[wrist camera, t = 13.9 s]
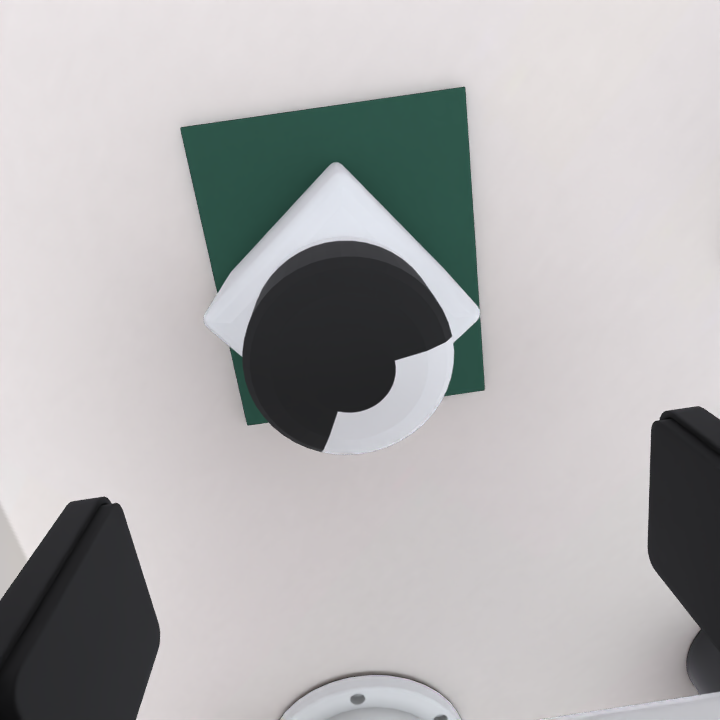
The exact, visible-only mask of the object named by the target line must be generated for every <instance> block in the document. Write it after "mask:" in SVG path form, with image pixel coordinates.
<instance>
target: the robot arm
mask: <svg viewBox="0 0 720 720" xmlns="http://www.w3.org/2000/svg"><path fill="white" fill-rule="evenodd" d="M648 554H649V558H650V561H651V564H652V566H653V568H654V569H655V571H656V572H657V573H658V575H659V576H660V577H661V579H662V580H663V581H664V582H665V584H666V585H667V586H668V587H669V589H670V590H671V591H672V592H673V594H674V595H675V596H676V598H677V599H678V600H679V601H680V603H681V604H682V605H683V606H684V608H685V609H686V610H687V611H688V613H689V614H690V615H691V617H692V618H693V619H694V620H695V622H696V623H697V624H698V625H699V627H700V628H701V629H702V630H703V632H704V633H705V634H706V636H707V637H708V638H709V639H710V641H711V642H712V643H713V644H714V646H715V647H716V648H717V649H718V651H719V652H720V419H718V418H717V417H715V416H714V415H712V414H711V413H710V412H708V411H707V410H705V409H704V408H702V407H699V406H697V407H689V408H683V409H676V410H670V411H665V412H663V413H662V415H661V417H660V420H659V421H655V422H654V423H653V425H652V429H651V455H650V487H649V520H648ZM159 644H160V628H159V624H158V620H157V617H156V614H155V611H154V608H153V604H152V601H151V598H150V595H149V592H148V588H147V585H146V582H145V579H144V576H143V573H142V569H141V566H140V563H139V560H138V557H137V554H136V550H135V547H134V544H133V541H132V538H131V535H130V531H129V528H128V525H127V522H126V519H125V515H124V512H123V510H122V507H121V506H120V505H119V504H118V503H114V504H111V502H110V500H109V499H108V498H106V497H99V498H92V499H85V500H79V501H73V502H70V503H69V504H68V505H67V506H66V507H65V509H64V510H63V512H62V513H61V514H60V516H59V517H58V519H57V520H56V522H55V523H54V524H53V526H52V527H51V529H50V530H49V532H48V533H47V534H46V536H45V537H44V539H43V540H42V542H41V543H40V544H39V546H38V547H37V549H36V550H35V552H34V553H33V554H32V556H31V557H30V559H29V560H28V562H27V563H26V564H25V566H24V567H23V569H22V570H21V572H20V573H19V575H18V576H17V578H16V579H15V580H14V582H13V583H12V584H11V586H10V588H9V589H8V590H7V592H6V593H5V595H4V596H3V597H2V599H1V600H0V720H136V717H137V714H138V711H139V708H140V705H141V702H142V699H143V695H144V692H145V689H146V686H147V683H148V680H149V677H150V674H151V670H152V667H153V664H154V661H155V658H156V655H157V652H158V648H159ZM280 720H461V718H460V716H459V714H458V712H457V711H456V710H455V708H454V707H453V705H452V704H451V703H450V702H449V701H448V700H447V699H446V698H444V697H443V696H442V695H441V694H440V693H438V692H437V691H435V690H433V689H431V688H429V687H428V686H426V685H424V684H421V683H418V682H415V681H412V680H409V679H405V678H400V677H394V676H386V675H366V676H358V677H350V678H346V679H342V680H339V681H335V682H331V683H329V684H327V685H324V686H322V687H320V688H317V689H315V690H313V691H312V692H310V693H308V694H307V695H305V696H304V697H302V698H301V699H299V700H298V701H297V702H296V703H295V704H293V705H292V706H291V707H290V708H289V709H288V710H287V711H286V712H285V713H284V715H283V716H282V718H281V719H280ZM539 720H720V692H715V693H709V694H702V695H695V696H689V697H682V698H676V699H669V700H663V701H656V702H650V703H643V704H637V705H630V706H623V707H617V708H610V709H604V710H597V711H591V712H584V713H578V714H571V715H565V716H558V717H552V718H546V719H539Z"/></svg>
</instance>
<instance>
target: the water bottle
mask: <svg viewBox="0 0 720 720" xmlns="http://www.w3.org/2000/svg"><path fill="white" fill-rule="evenodd" d="M687 672H688V675H689V678H690V680H691V682H692V683H693V685H694V686H695V688H696V690H697V691H698V693H699V694H700V695H702V694H709V693H715V692H720V652H719V651H718V649H717V648H716V647H715V646H714V644H713V643H712V642H711V641H710V639H709V638H708V637H707V636H706V634H705V633H704V632H703V630H701V631H700V632H699V634H698V635H697V636H696V638H695V639H694V641H693V643H692V645H691V647H690V650H689V653H688V657H687Z"/></svg>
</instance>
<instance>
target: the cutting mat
mask: <svg viewBox="0 0 720 720" xmlns="http://www.w3.org/2000/svg"><path fill="white" fill-rule="evenodd" d="M180 129H181V134H182V138H183V143H184V147H185V151H186V156H187V160H188V165H189V169H190V174H191V178H192V183H193V187H194V191H195V196H196V200H197V205H198V209H199V214H200V218H201V222H202V227H203V231H204V236H205V240H206V245H207V249H208V253H209V258H210V262H211V267H212V271H213V276H214V280H215V284H216V289H217V293H218V292H219V290H220V289H221V287H222V286H223V284H224V282H225V281H226V279H227V277H228V276H229V274H230V273H231V271H232V270H233V269H234V268H235V267H236V266H237V265H238V264H239V263H240V262H241V261H242V259H243V258H244V257H245V256H246V255H247V254H248V253H249V252H250V251H251V250H252V249H253V248H254V246H255V245H256V244H257V243H258V242H259V241H260V240H261V239H262V238H263V237H264V236H265V235H266V233H267V232H268V231H269V230H270V229H271V228H272V227H273V226H274V225H275V224H276V223H277V222H278V220H279V219H280V218H281V217H282V216H283V215H284V214H285V213H286V212H287V211H288V210H289V209H290V207H291V206H292V205H293V204H294V203H295V202H296V201H297V200H298V199H299V198H300V197H301V195H302V194H303V193H304V192H305V191H306V190H307V189H308V188H309V187H310V186H311V185H312V184H313V182H314V181H315V180H316V179H317V178H318V177H319V176H320V175H321V174H322V173H323V172H324V171H325V169H326V168H327V167H328V166H329V165H330V164H332V163H334V162H338V163H340V164H342V165H343V166H344V167H345V168H346V169H347V170H348V171H349V172H350V173H351V174H352V175H353V176H354V177H355V178H356V179H357V180H358V181H359V182H360V183H361V184H362V185H363V186H364V187H365V189H366V190H367V191H368V192H369V193H370V194H371V195H372V196H373V197H374V198H375V199H376V200H377V201H378V202H379V203H380V204H381V205H382V206H383V207H384V208H385V209H386V210H387V211H388V212H389V213H390V214H391V215H392V216H393V217H394V218H395V219H396V220H397V221H398V222H399V223H400V224H401V225H402V226H403V227H404V228H405V229H406V230H407V231H408V232H409V233H410V234H411V236H412V237H413V238H414V239H415V240H416V241H417V242H418V243H419V244H420V245H421V246H422V247H423V248H424V249H425V250H426V251H427V252H428V253H429V254H430V255H431V256H432V257H433V258H434V259H435V260H436V261H437V262H438V263H439V264H440V265H441V266H442V267H443V268H444V269H445V270H446V272H447V273H448V274H449V275H450V276H451V277H452V278H453V279H454V280H455V282H456V283H457V284H458V285H459V286H460V287H461V288H462V289H463V291H464V292H465V293H466V294H467V295H468V296H469V297H470V298H471V299H472V301H473V302H474V303H475V304H476V305H477V306H478V308H479V292H478V277H477V262H476V246H475V231H474V215H473V200H472V184H471V169H470V153H469V138H468V123H467V107H466V92H465V87H460V88H453V89H446V90H439V91H432V92H425V93H418V94H411V95H404V96H397V97H390V98H383V99H376V100H369V101H362V102H355V103H348V104H341V105H334V106H327V107H320V108H313V109H306V110H299V111H292V112H285V113H278V114H271V115H264V116H257V117H250V118H243V119H236V120H229V121H222V122H215V123H208V124H201V125H194V126H187V127H181V128H180ZM479 310H480V308H479ZM453 346H454V364H453V369H452V375H451V379H450V382H449V385H448V388H447V391H446V393H445V395H444V396H449V395H456V394H462V393H469V392H476V391H483V390H485V385H484V370H483V354H482V339H481V323H480V316H479V318H478V320H477V321H476V322H475V323H474V324H473V325H472V326H471V327H470V328H469V329H468V330H467V331H465V332H464V333H463V334H462V335H461V336H460V337H459V338H458V339H457V340H456V341H455V342H454V343H453ZM229 347H230V346H229ZM230 351H231V355H232V360H233V364H234V369H235V373H236V378H237V382H238V386H239V391H240V395H241V400H242V404H243V409H244V413H245V418H246V422H247V425H255V424H262V423H268V421H267V420H266V419H265V418H264V417H263V415H262V414H261V412H260V411H259V410H258V408H257V407H256V405H255V403H254V401H253V399H252V397H251V395H250V393H249V391H248V388H247V385H246V382H245V377H244V372H243V362H242V356H241V355H239V354H238V353H237V352H236V351H235V350H233V349H232V348H231V347H230Z"/></svg>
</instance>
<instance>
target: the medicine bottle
mask: <svg viewBox="0 0 720 720" xmlns="http://www.w3.org/2000/svg"><path fill="white" fill-rule="evenodd" d="M479 316H480V310H479V308H478V306H477V305H476V304H475V303H474V302H473V301H472V299H471V298H470V297H469V296H468V295H467V294H466V293H465V292H464V291H463V289H462V288H461V287H460V286H459V285H458V284H457V283H456V282H455V280H454V279H453V278H452V277H451V276H450V275H449V274H448V273H447V272H446V270H445V269H444V268H443V267H442V266H441V265H440V264H439V263H438V262H437V261H436V260H435V259H434V258H433V257H432V256H431V255H430V254H429V253H428V252H427V251H426V250H425V249H424V248H423V247H422V246H421V245H420V244H419V243H418V242H417V241H416V240H415V239H414V238H413V237H412V236H411V234H410V233H409V232H408V231H407V230H406V229H405V228H404V227H403V226H402V225H401V224H400V223H399V222H398V221H397V220H396V219H395V218H394V217H393V216H392V215H391V214H390V213H389V212H388V211H387V210H386V209H385V208H384V207H383V206H382V205H381V204H380V203H379V202H378V201H377V200H376V199H375V198H374V197H373V196H372V195H371V194H370V193H369V192H368V191H367V190H366V189H365V187H364V186H363V185H362V184H361V183H360V182H359V181H358V180H357V179H356V178H355V177H354V176H353V175H352V174H351V173H350V172H349V171H348V170H347V169H346V168H345V167H344V166H343V165H342V164H340V163H338V162H334V163H332V164H330V165H329V166H328V167H327V168H326V169H325V171H324V172H323V173H322V174H321V175H320V176H319V177H318V178H317V179H316V180H315V181H314V182H313V184H312V185H311V186H310V187H309V188H308V189H307V190H306V191H305V192H304V193H303V194H302V195H301V197H300V198H299V199H298V200H297V201H296V202H295V203H294V204H293V205H292V206H291V207H290V209H289V210H288V211H287V212H286V213H285V214H284V215H283V216H282V217H281V218H280V219H279V220H278V222H277V223H276V224H275V225H274V226H273V227H272V228H271V229H270V230H269V231H268V232H267V233H266V235H265V236H264V237H263V238H262V239H261V240H260V241H259V242H258V243H257V244H256V245H255V246H254V248H253V249H252V250H251V251H250V252H249V253H248V254H247V255H246V256H245V257H244V258H243V259H242V261H241V262H240V263H239V264H238V265H237V266H236V267H235V268H234V269H233V270H232V271H231V273H230V274H229V276H228V277H227V279H226V281H225V282H224V284H223V286H222V287H221V289H220V290H219V292H218V294H217V295H216V297H215V298H214V300H213V302H212V303H211V305H210V307H209V308H208V310H207V311H206V313H205V315H204V324H205V325H206V327H207V328H208V329H210V330H211V331H212V332H213V333H214V334H215V335H217V336H218V337H219V338H220V339H221V340H223V341H224V342H225V343H226V344H227V345H229V346H230V347H231V348H232V349H233V350H235V351H236V352H237V353H238V354H239V355H241V356H242V362H243V372H244V377H245V382H246V385H247V388H248V391H249V393H250V395H251V397H252V399H253V401H254V403H255V405H256V407H257V408H258V410H259V411H260V412H261V414H262V415H263V417H264V418H265V419H266V420H267V421H268V422H269V423H270V424H271V425H272V426H273V427H274V428H275V429H276V430H278V431H279V432H280V433H281V434H283V435H284V436H286V437H287V438H289V439H290V440H292V441H294V442H295V443H298V444H300V445H302V446H304V447H307V448H309V449H313V450H316V451H320V452H324V453H330V454H341V455H352V454H363V453H368V452H373V451H377V450H380V449H383V448H386V447H389V446H391V445H393V444H395V443H397V442H399V441H401V440H403V439H404V438H406V437H408V436H409V435H411V434H412V433H414V432H415V431H416V430H417V429H418V428H419V427H421V426H422V425H423V424H424V423H425V422H426V421H427V420H428V419H429V417H430V416H431V415H432V414H433V413H434V411H435V410H436V408H437V407H438V406H439V404H440V403H441V401H442V399H443V397H444V395H445V393H446V391H447V388H448V385H449V382H450V379H451V375H452V369H453V364H454V346H453V343H454V342H455V341H456V340H457V339H458V338H459V337H460V336H461V335H462V334H463V333H464V332H465V331H467V330H468V329H469V328H470V327H471V326H472V325H473V324H474V323H475V322H476V321H477V320H478V318H479Z"/></svg>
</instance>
